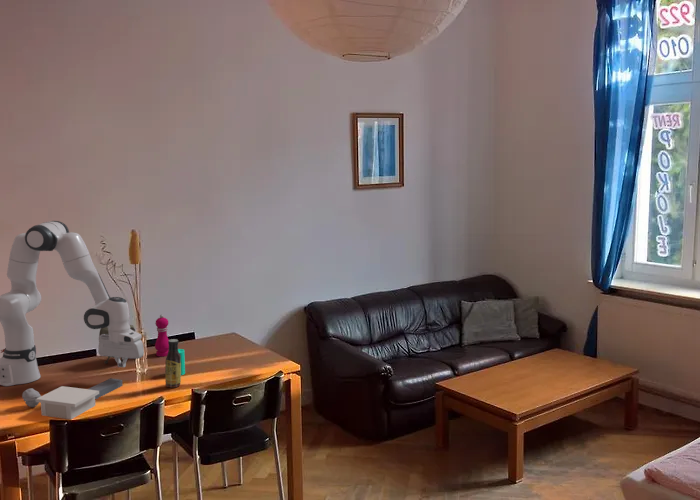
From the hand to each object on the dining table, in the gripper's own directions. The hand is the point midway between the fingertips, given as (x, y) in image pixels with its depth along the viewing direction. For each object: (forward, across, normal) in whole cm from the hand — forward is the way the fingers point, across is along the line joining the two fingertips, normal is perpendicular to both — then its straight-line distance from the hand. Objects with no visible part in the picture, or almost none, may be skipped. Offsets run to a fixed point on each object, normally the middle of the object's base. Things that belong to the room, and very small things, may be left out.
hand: (121, 366), depth 283 cm
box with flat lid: (+6, -1, -32) cm, 33 cm away
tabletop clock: (+7, -17, +22) cm, 28 cm away
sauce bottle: (+7, +23, +2) cm, 24 cm away
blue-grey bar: (+7, -1, -13) cm, 15 cm away
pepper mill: (+7, -4, +38) cm, 39 cm away
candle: (+7, +17, +16) cm, 25 cm away
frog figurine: (+6, -17, -34) cm, 38 cm away
